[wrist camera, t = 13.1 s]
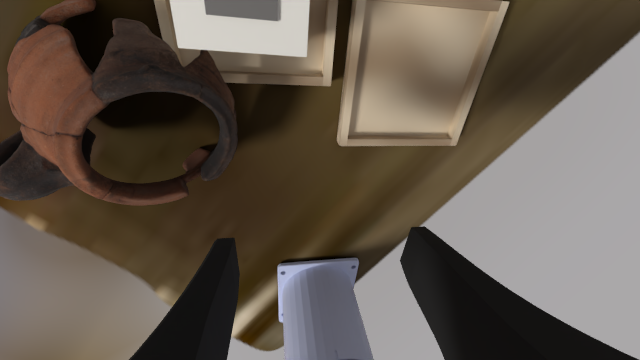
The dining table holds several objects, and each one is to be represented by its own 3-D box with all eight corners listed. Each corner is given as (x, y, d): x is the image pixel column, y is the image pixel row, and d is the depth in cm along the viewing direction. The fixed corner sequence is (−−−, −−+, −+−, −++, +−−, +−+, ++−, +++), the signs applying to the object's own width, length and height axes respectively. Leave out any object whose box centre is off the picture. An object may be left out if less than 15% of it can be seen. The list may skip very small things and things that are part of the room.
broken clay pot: (120, -64, 12) (165, -11, 8) (231, 85, 21) (282, 150, 16) (-108, 85, 12) (-187, 225, 7) (101, 179, 20) (119, 271, 16)
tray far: (448, 140, 21) (455, 145, 20) (336, 140, 19) (339, 146, 18) (497, 2, 16) (509, 1, 15) (353, -13, 14) (358, -14, 14)
